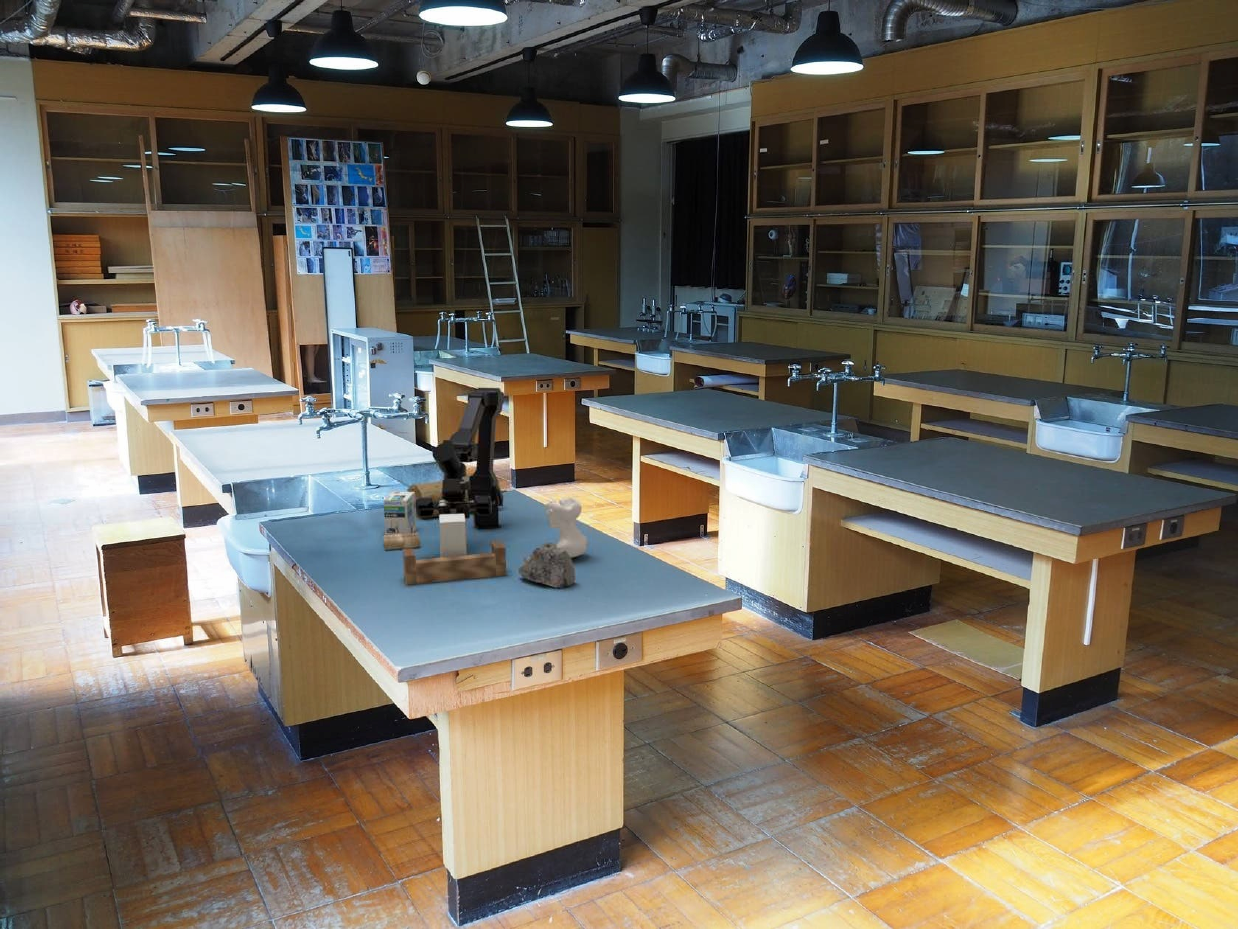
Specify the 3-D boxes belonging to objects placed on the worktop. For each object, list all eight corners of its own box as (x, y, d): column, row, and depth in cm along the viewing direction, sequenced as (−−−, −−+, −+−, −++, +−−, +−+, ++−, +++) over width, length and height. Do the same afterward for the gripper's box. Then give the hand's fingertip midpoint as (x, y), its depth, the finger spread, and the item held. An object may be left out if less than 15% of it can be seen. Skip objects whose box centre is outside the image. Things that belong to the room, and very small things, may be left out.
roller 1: (417, 541, 280) (417, 530, 279) (418, 545, 277) (418, 534, 276) (383, 544, 277) (383, 533, 276) (384, 548, 274) (384, 537, 274)
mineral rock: (516, 578, 248) (515, 537, 246) (556, 571, 253) (555, 531, 251) (538, 593, 237) (537, 551, 235) (580, 586, 242) (579, 544, 240)
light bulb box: (409, 538, 282) (407, 500, 280) (384, 538, 282) (382, 500, 280) (417, 528, 293) (415, 491, 290) (393, 528, 293) (391, 491, 291)
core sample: (405, 512, 311) (403, 479, 309) (487, 501, 323) (486, 470, 321) (420, 522, 299) (418, 489, 297) (505, 511, 311) (504, 478, 309)
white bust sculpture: (569, 565, 257) (568, 507, 254) (536, 557, 264) (534, 500, 261) (594, 556, 265) (593, 499, 262) (560, 549, 272) (559, 493, 268)
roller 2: (419, 548, 275) (418, 537, 276) (420, 546, 273) (419, 535, 273) (385, 551, 273) (384, 540, 274) (385, 549, 270) (384, 538, 271)
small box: (467, 572, 252) (465, 521, 250) (441, 574, 251) (439, 522, 248) (466, 563, 260) (464, 512, 257) (441, 564, 259) (438, 514, 256)
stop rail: (501, 568, 256) (500, 540, 254) (506, 575, 250) (505, 547, 249) (404, 577, 249) (402, 549, 248) (406, 584, 244) (405, 556, 242)
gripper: (414, 466, 259) (411, 520, 251) (489, 464, 261) (489, 517, 252) (419, 489, 269) (416, 542, 260) (491, 487, 270) (491, 540, 261)
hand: (453, 535), depth 258 cm, fingers closed
